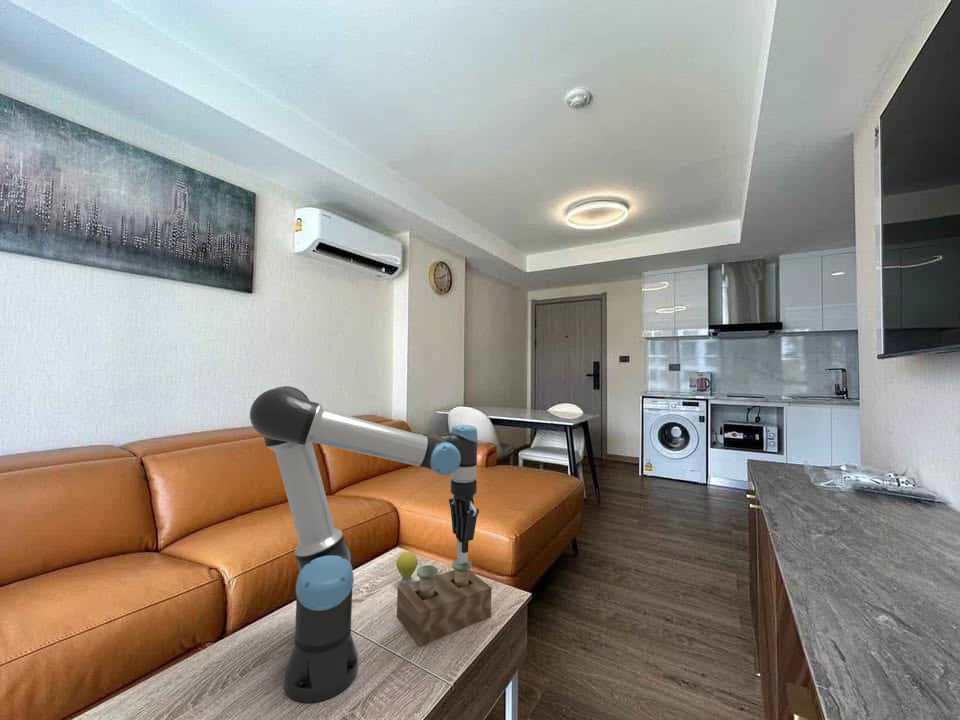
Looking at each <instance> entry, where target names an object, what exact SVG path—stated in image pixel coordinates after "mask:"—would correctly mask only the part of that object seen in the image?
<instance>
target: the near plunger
mask: <svg viewBox="0 0 960 720" xmlns="http://www.w3.org/2000/svg"><path fill="white" fill-rule="evenodd" d="M437 575H439V569H438V568H437V567H436V566H434V565H430V564H429V565H422V566H420V567H418V568H416V576H417V577H418V578H419V580H420V591H419V597H420V598H421V599H422V600H425V599H428V598H431V597H434V586H435V576H437Z"/></svg>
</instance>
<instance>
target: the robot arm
mask: <svg viewBox="0 0 960 720" xmlns="http://www.w3.org/2000/svg"><path fill="white" fill-rule="evenodd" d="M250 406H251V407H250V411H249V419H250V423H251V425H252V427H253V428H254V430H255V431H256V432H257V433H258V434H260V435H261V436H263V441H264V443H265V447H266V448H267V449H269V450H271V451H273V452H274V455H275V457H276V462H277V465H278V469H279V473H280V476H281V479H282V483H283V488H284V490H285V495H286V497H287V498H286V499H287V501H288V506H289V508H290V513H291V517H292V520H293V521H292V522H293V524H294V528H295V531H296V535H297V538H298V544H297V546H296V548H295V549H294V555H295V559H296V562H297V566H298V570H299V573H298V575H297V580H296V584H295V593H296V603H295V604H296V605H295V624H294V625H295V630H294V644H293V647H292V648H293V649H292V650H291V653H290V656H289V659H288V662H287V664H286V667H285V672H284V675H283V676H284V678H283V687H284V688H283V689H284V692H285V693H286V696H288V697H289V698H290V699H292V700H294V701H297V702H300V703H317V702H321V701H325V700H328V699H330V698H333V697H335V696H336V695H338V694H340V693H341V692H342V691H344V690H345V689H347V688H348V687H349V686H350V685H351V684H352V683H353V681H354V679H355V677H356V676H357V674H358V669H359V668H358V667H359V656H358V652H357V651H358V650H357V648H356V645H355V642H354V639H353V636H352V615H353V614H352V609H353V585H354V572H353V571H354V570H353V566H352V563H351V561H352V560H351V559H352V557H351V553H350V549H349V548H348V546H347V545H346V542H345V538H344V533H343V531H342V530H340V529H338V528H336V527H335V525H334V521H333V517H332V514H331V510H330V506H329V501H328V499H327V495H326V490H325V488H324V484H323V483H324V482H323V479H322V475H321V472H320V467H319V464H318V460H317V457H316V452H315V449H314V445H313V443H314V444H318V445H323V446H329V447H331V448H332V447H333V448H337V449H341V450H344V451H349V452H354V453H359V454H364V455H367V456H371V457H375V458H381V459H385V460H389V461H394V462H399V463H402V464H406V465H410V466H414V467H415V466H416V467H420V468H422V469H427V470H431V471H433V472H434V473H436V474H439V476H440V475H441V476H449V475H450V479H451V480H450V493H451V494H452V495H453V498H449V499H448V502H449V506H450V508H449V509H450V515H451V516H450V517H451V527H452V534H453V535H455V538H456V560H457V563H458V564H459V565H460V564H464V563H467V562H468V560H469V559H468V558H469V542H470V541H473V540H474V539H475V538H474V537H475V531H476V525H477V519H478V515H479V513H480V509H479V508H476V507H475V505H474V504H475V501H474V496H475V494H477V492H478V491H477V489H478V488H477V487H478V483H477V482H478V481H477V475H478V470H477V469H478V444H479V443H478V442H479V440H478V429H477V427H476V426H474V425H472V424H471V425H470V424H457V425H453V426H451V431H450V432H447V433H421V434H419V433H414V432H411V431H407V430H403V429H400V428H399V429H398V428H395V427H391V426H387V425H383V424H381V423H376V422H373V421H368V420H365V419H362V418H357V417H354V416H353V417H352V416H350V415H346V414H343V413H339V412H335V411H330V410H327V409H324V407H323V405H322V404H321V403H318V402H314V401H311V400H310V399H309V398H308V396H307V395H306V394H305V392H304V391H302V390H301V389H298V388H297V387H294V386H291V385H289V386H287V385H285V386H277V387H275V388H271V389H268V390H266V391H264V392H262V393H261V394H259V395H258V396H257V397H256V398H255V400H254V401H253V403H252V405H250Z"/></svg>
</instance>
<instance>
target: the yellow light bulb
mask: <svg viewBox="0 0 960 720" xmlns="http://www.w3.org/2000/svg"><path fill="white" fill-rule="evenodd" d="M418 564H419V563H418V558H417V556H416V554H415V553H413V552H412V551H404V552H402V553H401V554H400V555H399V556H398V558H397V560H396V564H395V565H396V568H397V570H398V573H399V574H400V576H401V583H402V586H403V585H406V584H409V583H412V581H413V579H412V578H413V577H412V575H413V574H414V573H415V570H417V567H418Z"/></svg>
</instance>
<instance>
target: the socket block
mask: <svg viewBox="0 0 960 720" xmlns="http://www.w3.org/2000/svg"><path fill="white" fill-rule="evenodd" d="M454 584H455V569H452V570H450V571H446V572H443V573H440V574H439V573H438V574H437V576H435V586H434V597H431V598H428V599H425V600H422V599H421V598H420V597H419V591H420V579H419V580H417V581H413V582H410V583H409V584H406V585H403V584H402V585H400V586H398V587H397V593H396V594H397V595H396V597H397V601H396V618H397V619H398V620H399V622H400V624H401V625H403V627H404V629H405V631H407V632H408V634H409V635H410V636H411V638H412V639H413V640H414V642H415V643H416V645H417V646H418V647H420V646H422V645H426V644H427V643H429V642H432V641H434V640H437V639H439V638H443V637H444V636H447V635H449V634H451V633H452V634H453V633H454V632H457V631H459V630H461V629H462V630H463V629H464V628H467V627H469V626H472V625H474V624H477V623H479V622H482V621H483V620H484V621H485V620H486V619H489V618H492V587H491V586H490V585H489V584H488V583H486V582H485V581H484V580H483V579H481V578H480V577H479V576H478V575H476V574H475V573H474V572H473V571H472V570H471V569H469V583H468V585H467V586H464V587H461V588H458V587H457V586H455V585H454Z"/></svg>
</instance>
